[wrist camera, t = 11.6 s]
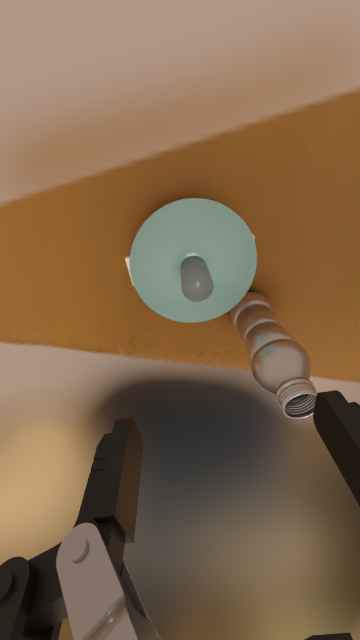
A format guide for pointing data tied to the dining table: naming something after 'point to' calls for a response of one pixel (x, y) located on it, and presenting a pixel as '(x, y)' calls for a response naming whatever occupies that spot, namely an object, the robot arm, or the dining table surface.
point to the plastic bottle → (275, 356)
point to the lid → (193, 260)
